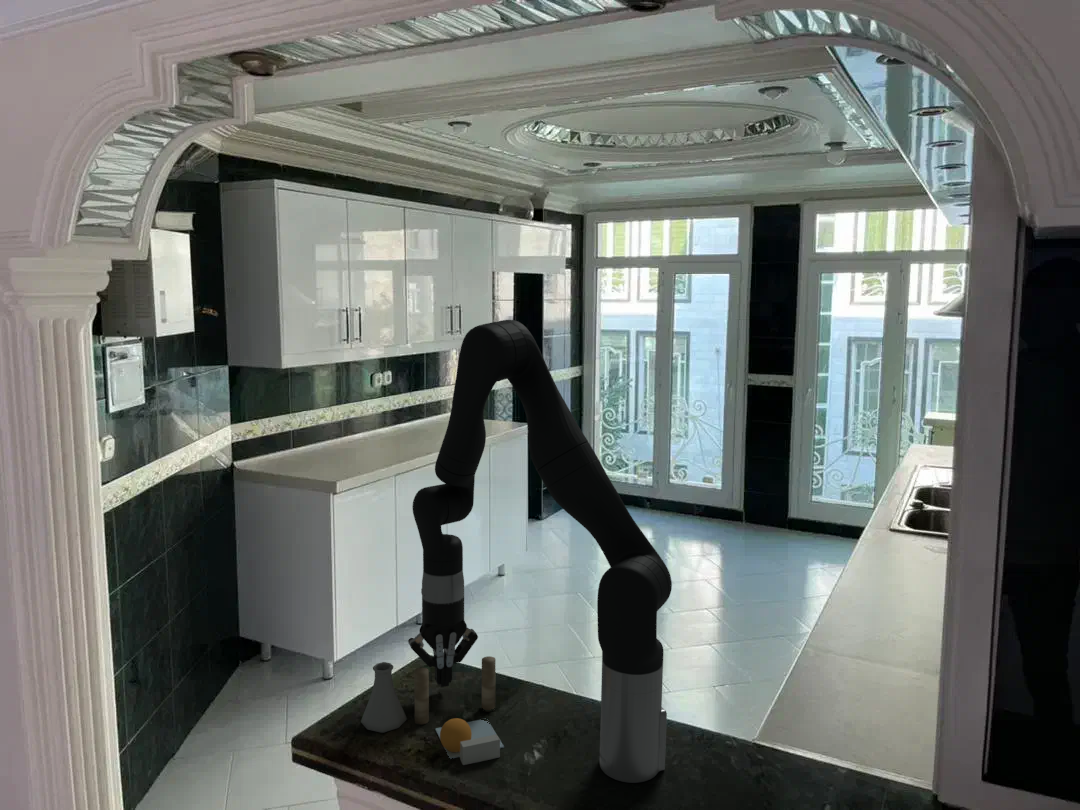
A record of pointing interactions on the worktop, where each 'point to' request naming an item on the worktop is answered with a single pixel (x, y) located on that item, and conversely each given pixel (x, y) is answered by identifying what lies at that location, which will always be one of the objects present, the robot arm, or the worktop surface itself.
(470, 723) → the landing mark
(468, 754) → the block
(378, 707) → the flask
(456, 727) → the ball
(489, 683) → the inner post
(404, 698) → the worktop surface
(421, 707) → the outer post
